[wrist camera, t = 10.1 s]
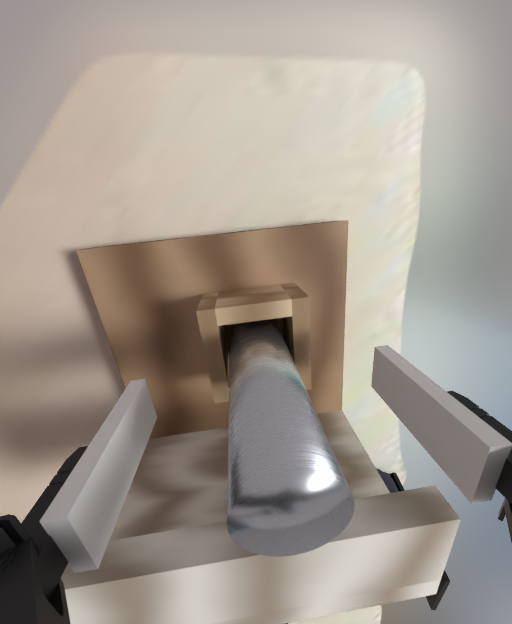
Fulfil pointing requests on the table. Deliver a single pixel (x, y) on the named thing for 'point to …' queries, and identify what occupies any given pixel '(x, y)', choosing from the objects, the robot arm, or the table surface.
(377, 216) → the table surface
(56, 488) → the robot arm
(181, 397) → the socket board
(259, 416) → the peg
